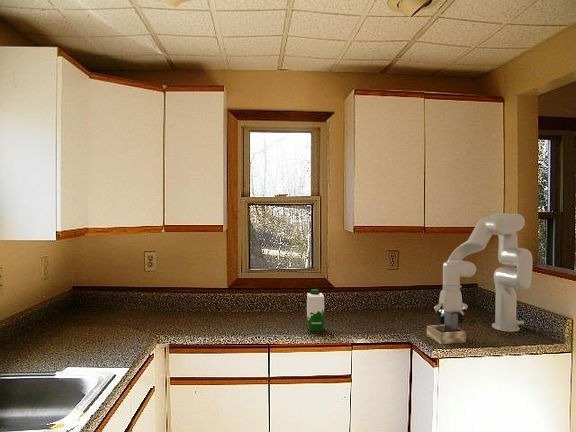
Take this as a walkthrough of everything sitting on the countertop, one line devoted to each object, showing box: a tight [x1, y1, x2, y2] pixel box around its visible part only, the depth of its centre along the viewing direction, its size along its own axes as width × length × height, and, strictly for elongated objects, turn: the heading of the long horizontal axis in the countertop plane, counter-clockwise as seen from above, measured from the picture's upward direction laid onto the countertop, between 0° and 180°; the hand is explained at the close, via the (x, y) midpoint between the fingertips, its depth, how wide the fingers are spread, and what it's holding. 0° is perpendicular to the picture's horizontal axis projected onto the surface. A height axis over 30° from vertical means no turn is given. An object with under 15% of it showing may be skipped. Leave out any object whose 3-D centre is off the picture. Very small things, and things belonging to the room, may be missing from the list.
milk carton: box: [306, 288, 325, 332], centre depth 206 cm, size 9×9×20 cm
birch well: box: [426, 324, 467, 345], centre depth 191 cm, size 13×12×5 cm
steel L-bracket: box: [444, 312, 459, 333], centre depth 191 cm, size 8×6×12 cm
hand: (450, 323), depth 191 cm, fingers open, 9 cm apart
